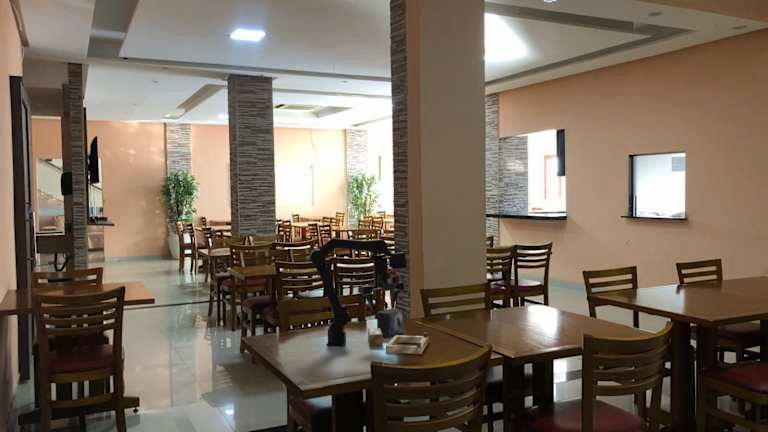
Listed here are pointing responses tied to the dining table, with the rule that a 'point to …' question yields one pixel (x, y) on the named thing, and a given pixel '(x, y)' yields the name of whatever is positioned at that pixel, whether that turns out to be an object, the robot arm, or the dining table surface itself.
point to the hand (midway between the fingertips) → (382, 308)
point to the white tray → (420, 341)
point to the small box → (390, 322)
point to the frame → (375, 337)
